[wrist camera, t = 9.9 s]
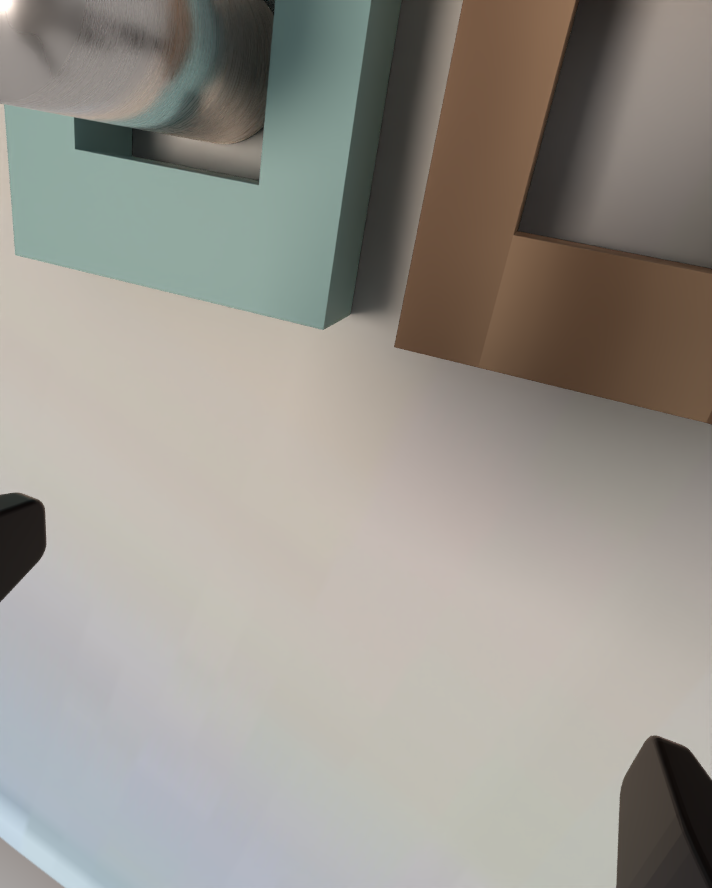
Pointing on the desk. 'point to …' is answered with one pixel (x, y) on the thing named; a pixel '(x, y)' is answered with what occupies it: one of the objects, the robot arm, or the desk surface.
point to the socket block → (539, 242)
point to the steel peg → (141, 63)
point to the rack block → (226, 181)
